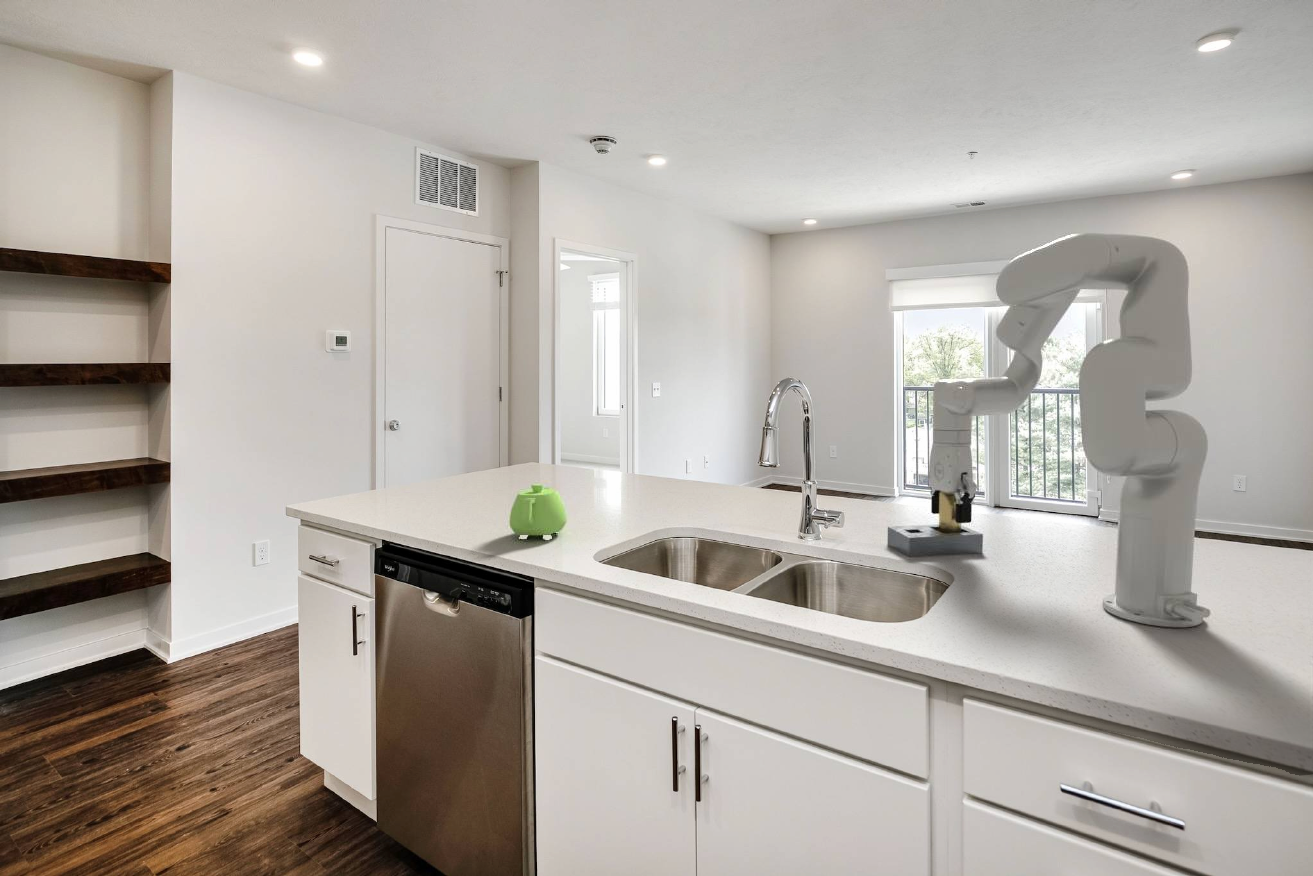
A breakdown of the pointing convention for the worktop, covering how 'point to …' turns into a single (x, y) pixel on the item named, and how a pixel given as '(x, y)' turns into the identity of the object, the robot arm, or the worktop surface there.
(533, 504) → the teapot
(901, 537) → the block
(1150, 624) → the robot arm
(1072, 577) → the worktop surface
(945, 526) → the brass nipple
